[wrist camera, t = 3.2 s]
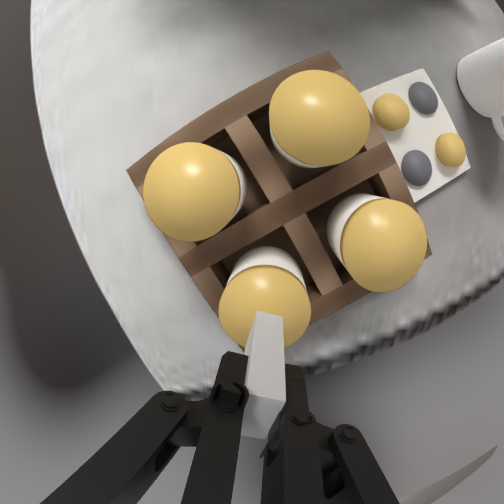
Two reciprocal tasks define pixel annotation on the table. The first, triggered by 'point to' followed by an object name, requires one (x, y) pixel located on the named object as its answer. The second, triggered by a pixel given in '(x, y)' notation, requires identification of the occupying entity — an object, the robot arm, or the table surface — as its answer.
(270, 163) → the board
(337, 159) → the button
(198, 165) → the button
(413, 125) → the card
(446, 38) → the table surface
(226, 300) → the button
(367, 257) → the button
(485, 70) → the mug
